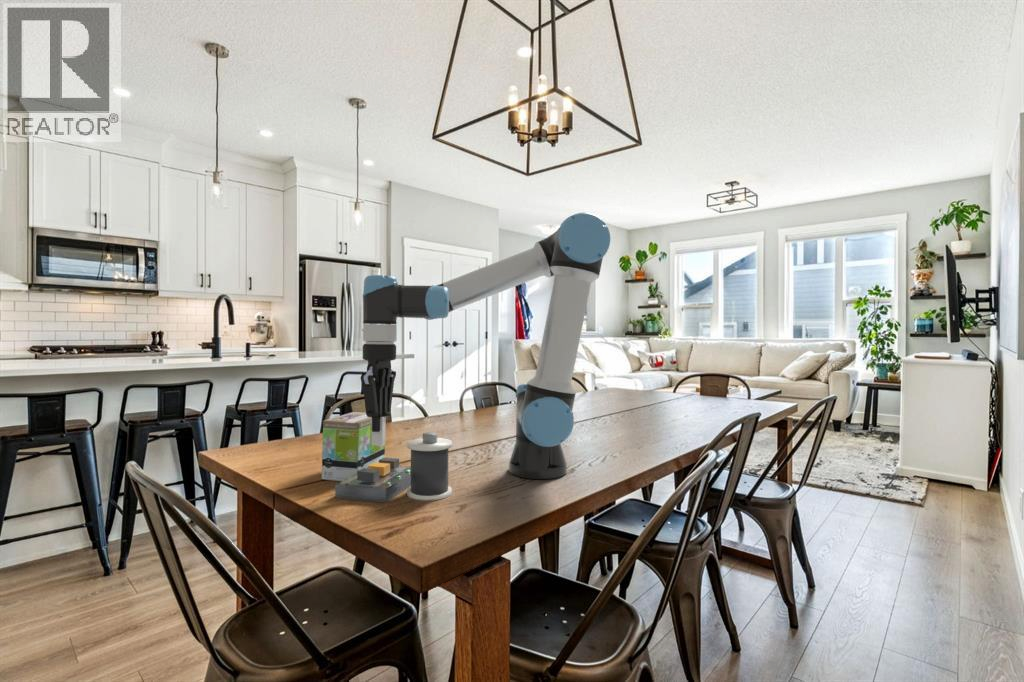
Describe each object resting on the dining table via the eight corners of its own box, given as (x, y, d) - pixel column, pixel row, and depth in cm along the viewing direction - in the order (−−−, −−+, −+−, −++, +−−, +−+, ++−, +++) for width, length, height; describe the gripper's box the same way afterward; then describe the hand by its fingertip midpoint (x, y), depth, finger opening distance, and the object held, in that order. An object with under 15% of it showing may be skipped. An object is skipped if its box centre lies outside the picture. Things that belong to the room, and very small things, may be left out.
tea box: (358, 483, 124) (358, 422, 124) (320, 480, 126) (320, 420, 126) (386, 466, 139) (386, 412, 138) (351, 464, 141) (351, 410, 140)
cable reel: (457, 488, 121) (458, 430, 120) (442, 502, 111) (442, 439, 111) (417, 484, 123) (418, 428, 123) (399, 498, 113) (399, 436, 113)
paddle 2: (399, 466, 126) (399, 458, 125) (394, 469, 123) (394, 461, 123) (383, 465, 126) (384, 457, 126) (378, 468, 124) (378, 460, 124)
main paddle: (390, 472, 121) (390, 463, 121) (383, 475, 118) (383, 467, 118) (374, 470, 122) (374, 462, 122) (367, 474, 119) (367, 465, 119)
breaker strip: (418, 480, 127) (418, 467, 127) (385, 503, 110) (385, 487, 110) (373, 476, 130) (373, 463, 129) (335, 498, 113) (335, 483, 113)
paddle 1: (379, 478, 116) (379, 469, 116) (373, 481, 113) (373, 472, 113) (363, 477, 117) (363, 468, 117) (357, 480, 114) (357, 471, 114)
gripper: (378, 341, 126) (377, 438, 127) (349, 343, 114) (348, 450, 114) (406, 342, 124) (405, 440, 125) (381, 344, 112) (379, 452, 112)
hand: (378, 444), depth 120 cm, fingers closed
